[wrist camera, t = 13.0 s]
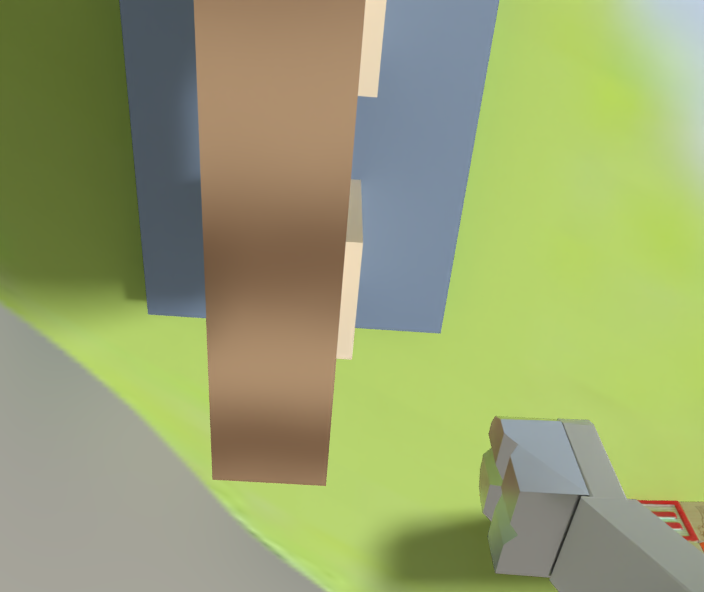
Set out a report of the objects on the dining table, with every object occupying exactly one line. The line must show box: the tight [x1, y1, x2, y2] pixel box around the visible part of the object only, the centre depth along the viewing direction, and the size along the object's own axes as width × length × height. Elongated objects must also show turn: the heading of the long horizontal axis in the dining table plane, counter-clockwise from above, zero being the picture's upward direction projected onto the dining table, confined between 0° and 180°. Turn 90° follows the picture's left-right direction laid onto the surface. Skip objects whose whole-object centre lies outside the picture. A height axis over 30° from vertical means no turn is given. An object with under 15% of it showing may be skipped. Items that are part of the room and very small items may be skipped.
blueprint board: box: [119, 0, 499, 360], centre depth 25 cm, size 20×14×8 cm
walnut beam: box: [194, 0, 366, 486], centre depth 19 cm, size 16×4×6 cm, turn 175°
